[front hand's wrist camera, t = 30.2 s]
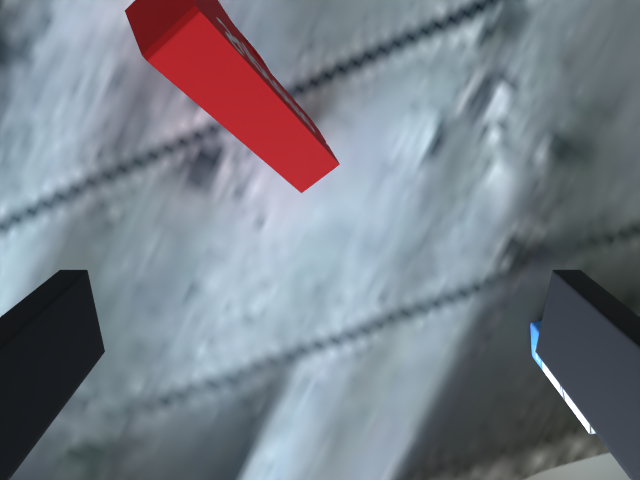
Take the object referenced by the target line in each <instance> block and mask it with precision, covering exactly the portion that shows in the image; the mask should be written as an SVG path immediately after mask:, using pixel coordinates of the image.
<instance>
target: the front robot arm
mask: <svg viewBox="0 0 640 480" xmlns="http://www.w3.org/2000/svg"><path fill="white" fill-rule="evenodd" d="M104 352H105V350H104V345H103V341H102V336H101V331H100V327H99V322H98V317H97V313H96V308H95V303H94V299H93V294H92V289H91V285H90V280H89V276H88V271H87V270H59V271H58V272H57V273H56V274H54V275H53V276H52V277H51V278H49V279H48V280H47V281H46V282H44V283H43V284H42V285H41V286H39V287H38V288H37V289H35V290H34V291H33V292H32V293H30V294H29V295H28V296H27V297H25V298H24V299H23V300H22V301H20V302H19V303H18V304H17V305H15V306H14V307H13V308H12V309H10V310H9V311H8V312H6V313H5V314H4V315H3V316H1V317H0V480H9V479H10V478H11V477H12V475H13V474H14V473H15V471H16V470H17V469H18V467H19V466H20V465H21V463H22V462H23V461H24V459H25V458H26V457H27V455H28V454H29V453H30V451H31V450H32V448H33V447H34V446H35V444H36V443H37V442H38V440H39V439H40V438H41V436H42V435H43V434H44V432H45V431H46V430H47V428H48V427H49V426H50V424H51V423H52V422H53V420H54V419H55V418H56V416H57V415H58V414H59V412H60V411H61V410H62V408H63V407H64V406H65V404H66V403H67V402H68V400H69V399H70V398H71V396H72V395H73V394H74V392H75V391H76V390H77V388H78V387H79V386H80V384H81V383H82V382H83V380H84V379H85V378H86V376H87V375H88V374H89V372H90V371H91V370H92V368H93V367H94V366H95V364H96V363H97V362H98V360H99V359H100V357H101V356H102V355H103V353H104ZM535 352H536V353H537V355H538V356H539V358H540V359H541V360H542V362H543V363H544V364H545V366H546V367H547V368H548V370H549V371H550V372H551V374H552V375H553V376H554V378H555V379H556V380H557V382H558V383H559V384H560V386H561V387H562V388H563V390H564V391H565V392H566V394H567V395H568V396H569V398H570V399H571V400H572V402H573V403H574V404H575V406H576V407H577V408H578V410H579V411H580V412H581V414H582V415H583V416H584V418H585V419H586V420H587V422H588V423H589V424H590V426H591V427H592V428H593V430H594V431H595V432H596V434H597V435H598V436H599V438H600V439H601V440H602V442H603V443H604V444H605V446H606V447H607V449H608V450H609V451H610V453H611V454H612V455H613V457H614V458H615V459H616V460H617V462H618V463H619V465H620V466H621V467H622V469H623V470H624V471H625V473H626V474H627V475H628V477H629V478H630V479H631V480H640V317H639V316H637V315H636V314H635V313H634V312H632V311H631V310H630V309H628V308H627V307H626V306H625V305H623V304H622V303H621V302H620V301H618V300H617V299H616V298H615V297H613V296H612V295H611V294H610V293H608V292H607V291H606V290H605V289H603V288H602V287H601V286H599V285H598V284H597V283H596V282H594V281H593V280H592V279H591V278H589V277H588V276H587V275H586V274H584V273H583V272H582V271H581V270H553V271H552V276H551V280H550V285H549V289H548V294H547V299H546V303H545V308H544V313H543V317H542V322H541V327H540V331H539V336H538V341H537V345H536V350H535Z"/></svg>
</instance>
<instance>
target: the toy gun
mask: <svg viewBox="0 0 640 480" xmlns="http://www.w3.org/2000/svg"><path fill="white" fill-rule="evenodd" d="M125 12H126V15H127V18H128V20H129V23H130V25H131V28H132V31H133V33H134V36H135V38H136V41H137V44H138V46H139V49H140V51H141V54H142V56H143V57H144V58H145V59H146V60H147V61H148V62H149V63H150V64H151V65H152V66H153V67H155V68H156V69H157V70H158V71H159V72H160V73H162V74H163V75H164V76H165V77H166V78H167V79H169V80H170V81H171V82H172V83H173V84H174V85H176V86H177V87H178V88H179V89H180V90H181V91H183V92H184V93H185V94H186V95H187V96H188V97H190V98H191V99H192V100H193V101H194V102H195V103H197V104H198V105H199V106H200V107H201V108H203V109H204V110H205V111H206V112H207V113H208V114H210V115H211V116H212V117H213V118H214V119H215V120H217V121H218V122H219V123H220V124H221V125H222V126H224V127H225V128H226V129H227V130H228V131H229V132H231V133H232V134H233V135H234V136H235V137H236V138H238V139H239V140H240V141H241V142H242V143H243V144H245V145H246V146H247V147H248V148H249V149H250V150H252V151H253V152H254V153H255V154H256V155H257V156H259V157H260V158H261V159H262V160H263V161H264V162H266V163H267V164H268V165H269V166H270V167H272V168H273V169H274V170H275V171H276V172H277V173H279V174H280V175H281V176H282V177H283V178H284V179H286V180H287V181H288V182H289V183H290V184H291V185H293V186H294V187H295V188H296V189H297V190H298V191H300V192H301V193H302V192H304V191H305V190H306V189H308V188H309V187H310V186H312V185H313V184H314V183H316V182H317V181H318V180H320V179H321V178H322V177H324V176H325V175H326V174H328V173H329V172H330V171H332V170H333V169H334V168H336V167H337V166H338V165H339V162H338V161H337V159H336V157H335V156H334V154H333V152H332V151H331V149H330V148H329V146H328V145H327V144H326V141H325V139H324V138H323V136H322V135H321V133H320V131H319V130H318V128H317V127H316V126H315V124H314V123H313V122H312V120H311V119H310V118H309V117H308V116H307V114H306V113H305V112H304V111H303V110H302V109H301V107H300V106H299V105H298V104H297V103H296V102H295V101H294V99H293V98H292V97H291V96H290V95H289V94H288V92H287V91H286V90H285V89H284V88H283V87H282V85H281V84H280V83H279V82H278V81H277V80H276V79H275V77H274V76H273V75H272V74H271V73H270V71H269V69H268V68H267V66H266V64H265V63H264V61H263V59H262V58H261V57H260V55H259V54H258V53H257V51H256V50H255V49H254V48H253V47H252V45H251V44H250V43H249V42H248V41H247V40H246V38H245V37H244V36H243V35H242V34H241V33H240V31H239V30H238V29H237V28H236V27H235V26H234V24H233V23H232V21H231V20H230V18H229V17H228V15H227V14H226V12H225V11H224V9H223V8H222V6H221V5H220V3H219V2H218V0H135V1H134V2H133V3H132V4H131V5H130V6H129V7H128V8H127V9H126V10H125Z"/></svg>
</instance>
